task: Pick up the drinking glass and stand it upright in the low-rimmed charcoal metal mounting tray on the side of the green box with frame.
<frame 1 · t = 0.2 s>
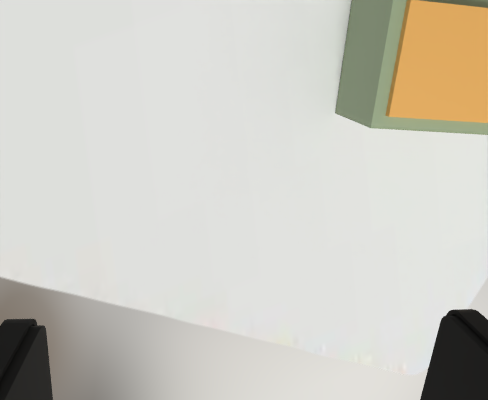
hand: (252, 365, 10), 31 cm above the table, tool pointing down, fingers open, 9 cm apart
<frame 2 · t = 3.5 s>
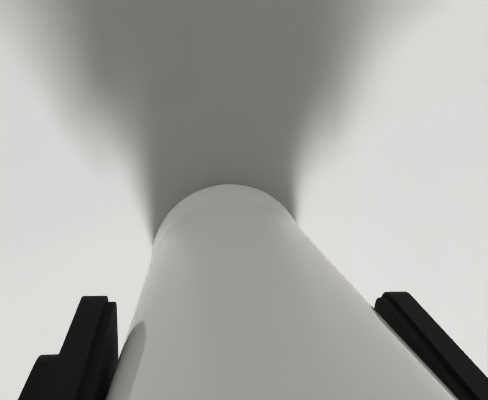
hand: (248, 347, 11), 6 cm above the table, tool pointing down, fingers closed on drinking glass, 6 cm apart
drinking glass: (226, 244, 16), on the table, touching gripper
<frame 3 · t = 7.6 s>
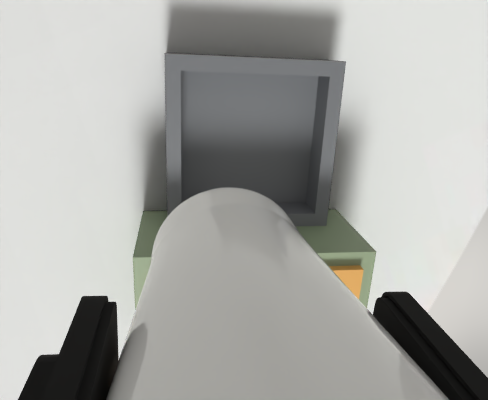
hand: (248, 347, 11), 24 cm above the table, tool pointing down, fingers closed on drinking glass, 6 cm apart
drinking glass: (225, 247, 16), point 18 cm above the table, touching gripper
green box with frame: (246, 138, 33), on the table
when the fingers open (8 cm above the table, at t = 11.5 s): drinking glass drops 1 cm, resting on green box with frame.
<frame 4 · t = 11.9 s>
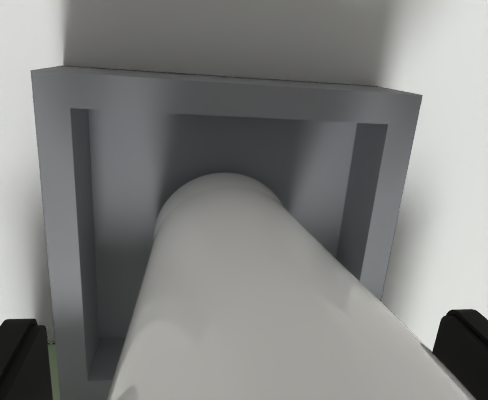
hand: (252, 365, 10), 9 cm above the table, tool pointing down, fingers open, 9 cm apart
drinking glass: (220, 229, 17), point 1 cm above the table, touching green box with frame
green box with frame: (220, 222, 18), on the table
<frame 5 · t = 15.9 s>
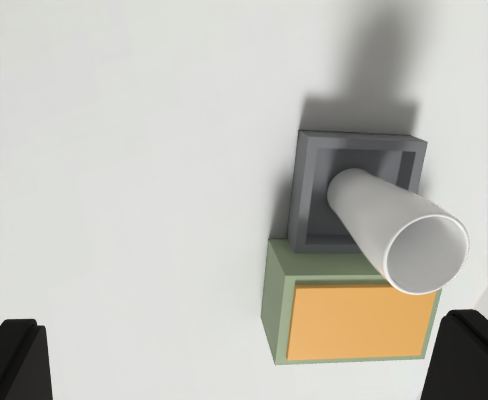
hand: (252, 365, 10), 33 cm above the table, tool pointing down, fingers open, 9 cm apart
drinking glass: (348, 190, 45), point 1 cm above the table, touching green box with frame
green box with frame: (346, 188, 45), on the table
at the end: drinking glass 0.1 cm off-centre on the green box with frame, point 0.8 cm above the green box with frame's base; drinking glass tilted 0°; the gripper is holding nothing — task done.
